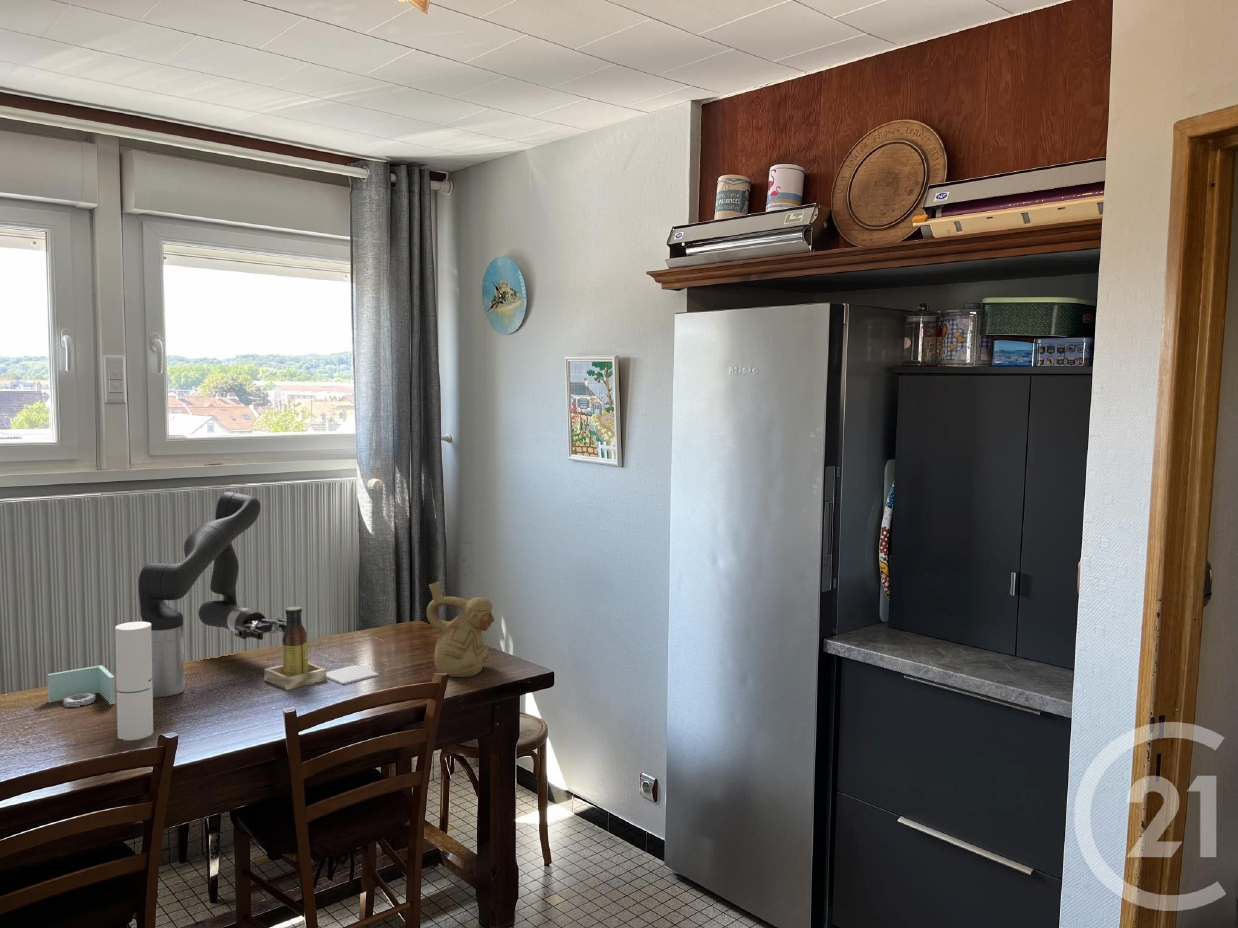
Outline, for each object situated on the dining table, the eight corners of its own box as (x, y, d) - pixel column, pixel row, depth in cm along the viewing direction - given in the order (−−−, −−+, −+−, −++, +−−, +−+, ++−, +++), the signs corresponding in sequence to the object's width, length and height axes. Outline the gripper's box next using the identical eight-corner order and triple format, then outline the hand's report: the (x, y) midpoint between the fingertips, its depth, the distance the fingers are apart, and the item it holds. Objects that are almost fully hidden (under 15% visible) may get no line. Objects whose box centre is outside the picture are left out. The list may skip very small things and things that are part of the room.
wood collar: (287, 689, 241) (287, 678, 241) (264, 680, 248) (264, 669, 248) (326, 679, 250) (326, 668, 250) (303, 670, 257) (303, 660, 257)
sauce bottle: (300, 674, 254) (299, 603, 252) (312, 679, 250) (312, 607, 248) (278, 680, 249) (277, 607, 247) (290, 685, 245) (290, 611, 243)
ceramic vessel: (484, 682, 251) (485, 591, 249) (415, 677, 254) (416, 587, 252) (502, 664, 267) (503, 579, 265) (437, 659, 270) (437, 575, 268)
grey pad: (343, 684, 246) (343, 682, 246) (320, 675, 253) (320, 673, 253) (378, 675, 255) (378, 673, 254) (354, 666, 262) (354, 664, 262)
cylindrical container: (158, 728, 213) (157, 621, 211) (144, 740, 206) (141, 630, 204) (127, 728, 213) (125, 621, 210) (111, 739, 205) (108, 629, 203)
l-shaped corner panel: (48, 703, 229) (47, 674, 228) (102, 693, 237) (102, 665, 236) (59, 717, 220) (58, 686, 219) (115, 706, 228) (114, 676, 227)
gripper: (222, 613, 259) (251, 624, 249) (269, 605, 270) (300, 615, 260) (222, 640, 260) (252, 651, 249) (269, 630, 271) (300, 641, 260)
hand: (276, 633), depth 254 cm, fingers open, 8 cm apart
